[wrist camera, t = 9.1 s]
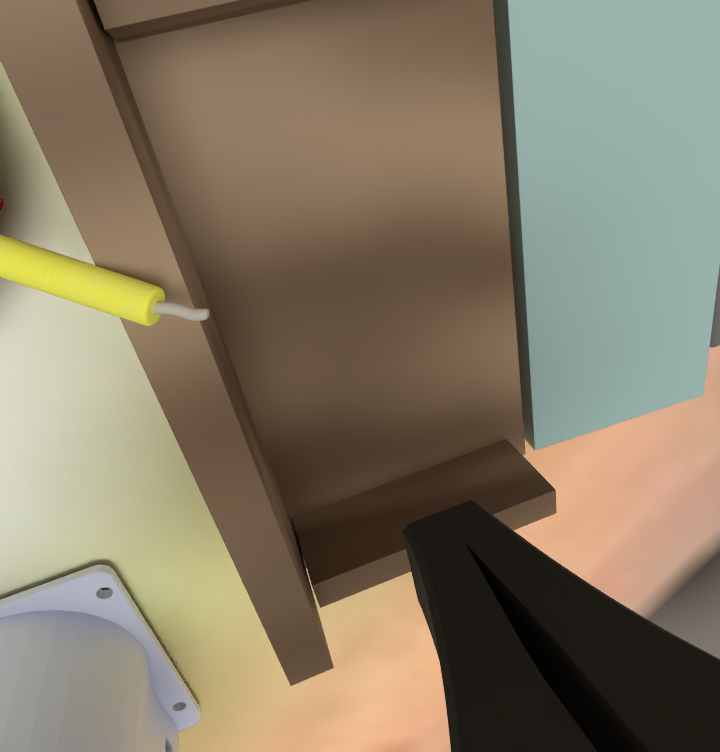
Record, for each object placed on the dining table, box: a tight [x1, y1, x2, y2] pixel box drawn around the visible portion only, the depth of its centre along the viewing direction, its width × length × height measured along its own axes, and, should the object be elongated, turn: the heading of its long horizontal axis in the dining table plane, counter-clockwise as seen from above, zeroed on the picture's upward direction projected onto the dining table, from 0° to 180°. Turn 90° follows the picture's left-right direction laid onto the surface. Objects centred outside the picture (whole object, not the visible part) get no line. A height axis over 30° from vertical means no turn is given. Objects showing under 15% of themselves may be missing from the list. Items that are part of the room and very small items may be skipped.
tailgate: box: [493, 0, 720, 450], centre depth 17 cm, size 16×1×8 cm
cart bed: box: [0, 0, 556, 686], centre depth 14 cm, size 18×10×6 cm, turn 12°
